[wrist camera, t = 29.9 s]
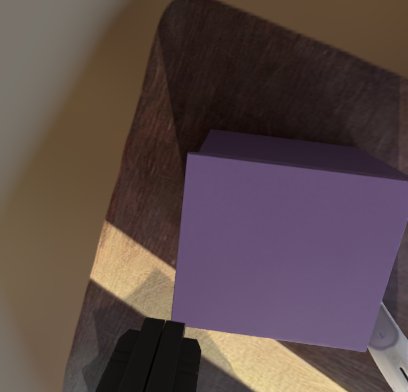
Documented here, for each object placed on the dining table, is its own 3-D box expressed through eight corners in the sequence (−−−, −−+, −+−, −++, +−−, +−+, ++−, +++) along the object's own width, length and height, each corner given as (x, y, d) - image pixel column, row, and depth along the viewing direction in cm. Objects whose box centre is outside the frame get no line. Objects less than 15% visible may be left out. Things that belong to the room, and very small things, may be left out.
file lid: (171, 319, 34) (170, 324, 34) (188, 151, 29) (187, 153, 28) (362, 346, 34) (365, 352, 33) (414, 179, 29) (419, 182, 28)
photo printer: (338, 292, 48) (371, 360, 37) (368, 278, 47) (411, 343, 36) (372, 346, 51) (413, 427, 39) (401, 334, 50) (452, 413, 38)
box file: (196, 251, 48) (180, 318, 35) (210, 128, 43) (198, 151, 30) (326, 269, 47) (362, 345, 34) (357, 147, 42) (414, 179, 29)
